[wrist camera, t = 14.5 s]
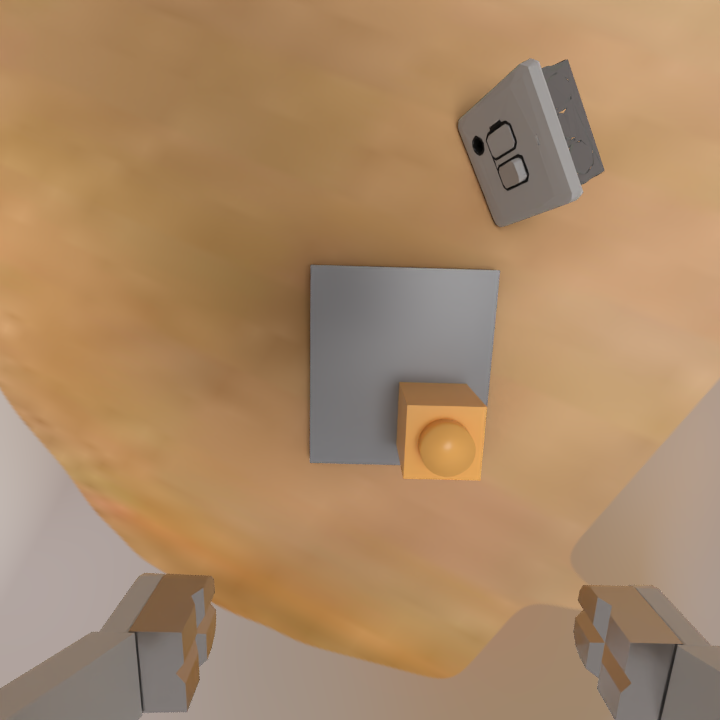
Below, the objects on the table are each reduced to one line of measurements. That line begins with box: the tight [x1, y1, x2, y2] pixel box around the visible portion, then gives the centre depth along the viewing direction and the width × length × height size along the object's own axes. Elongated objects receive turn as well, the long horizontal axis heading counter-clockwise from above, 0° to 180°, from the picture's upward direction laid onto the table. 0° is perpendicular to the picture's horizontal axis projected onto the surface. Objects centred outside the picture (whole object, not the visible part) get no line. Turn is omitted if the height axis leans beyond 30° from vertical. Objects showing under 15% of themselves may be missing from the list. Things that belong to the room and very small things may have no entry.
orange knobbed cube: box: [396, 382, 487, 480], centre depth 36 cm, size 6×6×8 cm
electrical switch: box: [458, 58, 604, 227], centre depth 33 cm, size 9×5×9 cm, turn 25°
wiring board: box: [310, 265, 500, 465], centre depth 38 cm, size 18×16×6 cm
